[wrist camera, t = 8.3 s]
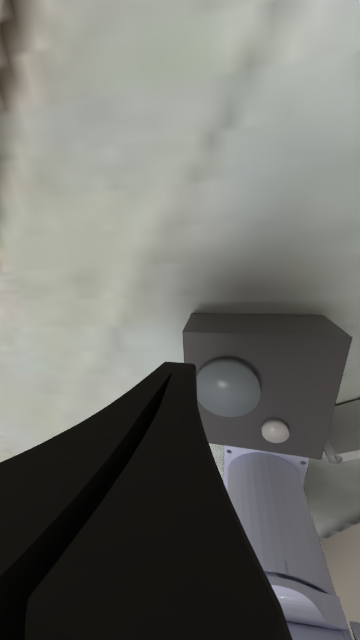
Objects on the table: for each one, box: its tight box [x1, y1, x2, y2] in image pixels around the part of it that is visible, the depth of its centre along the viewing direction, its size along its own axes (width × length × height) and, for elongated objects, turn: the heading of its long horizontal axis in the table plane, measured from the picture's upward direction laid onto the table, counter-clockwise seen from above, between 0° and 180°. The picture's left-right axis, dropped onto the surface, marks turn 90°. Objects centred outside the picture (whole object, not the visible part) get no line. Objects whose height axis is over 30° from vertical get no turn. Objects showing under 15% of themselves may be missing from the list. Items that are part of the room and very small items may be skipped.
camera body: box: [183, 313, 352, 460], centre depth 16 cm, size 10×10×5 cm
